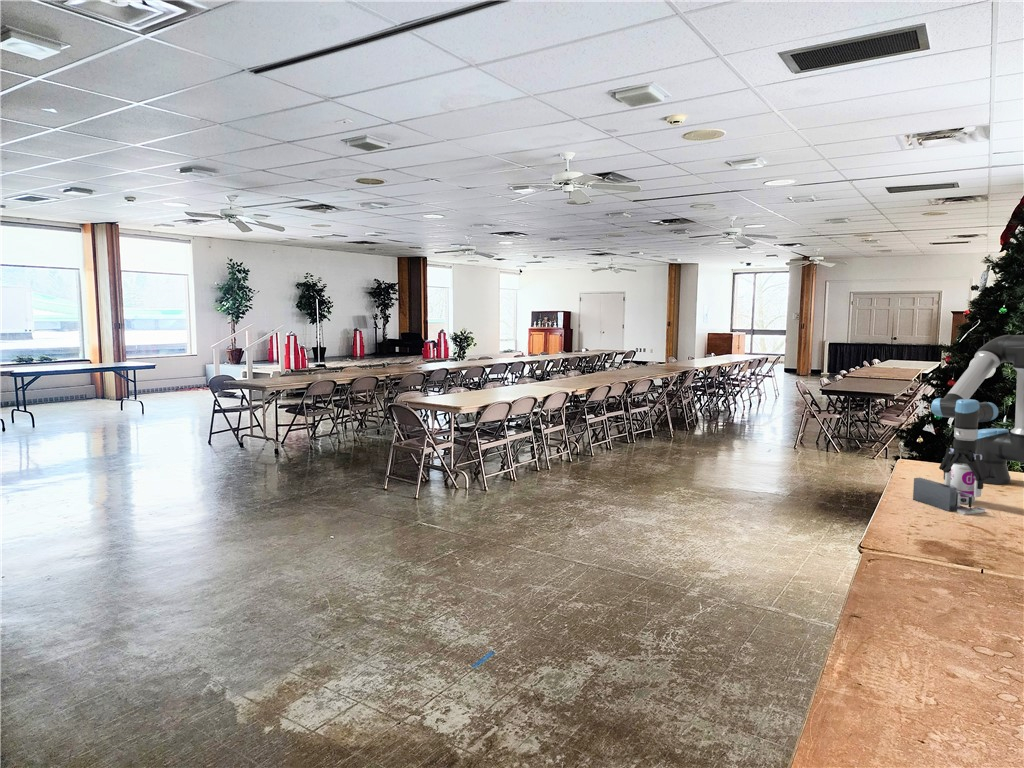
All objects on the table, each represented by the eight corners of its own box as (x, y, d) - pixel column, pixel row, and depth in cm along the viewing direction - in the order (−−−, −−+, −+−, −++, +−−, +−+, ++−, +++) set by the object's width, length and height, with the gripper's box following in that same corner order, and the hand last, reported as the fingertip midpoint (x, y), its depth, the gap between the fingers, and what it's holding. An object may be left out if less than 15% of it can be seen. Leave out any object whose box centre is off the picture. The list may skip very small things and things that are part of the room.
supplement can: (979, 504, 250) (981, 467, 249) (958, 505, 250) (960, 467, 249) (965, 498, 258) (967, 462, 257) (944, 499, 258) (946, 462, 257)
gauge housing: (935, 497, 261) (936, 475, 260) (985, 512, 241) (986, 489, 240) (912, 499, 258) (913, 478, 257) (961, 515, 238) (962, 491, 237)
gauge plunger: (927, 496, 259) (928, 482, 258) (971, 510, 240) (972, 494, 240) (925, 497, 258) (925, 482, 258) (969, 510, 240) (970, 495, 239)
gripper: (930, 434, 262) (927, 485, 265) (987, 445, 239) (984, 501, 241) (945, 432, 264) (942, 483, 266) (1003, 443, 241) (999, 499, 243)
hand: (962, 492), depth 254 cm, fingers open, 12 cm apart
